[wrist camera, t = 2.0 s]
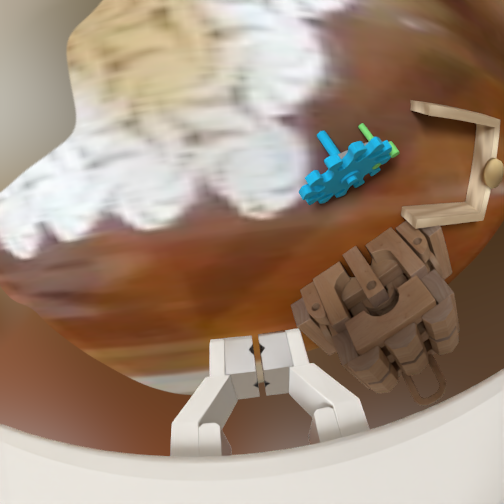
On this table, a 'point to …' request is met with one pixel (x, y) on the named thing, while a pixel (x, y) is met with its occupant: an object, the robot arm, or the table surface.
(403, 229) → the wooden puzzle
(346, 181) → the gear
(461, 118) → the drawer
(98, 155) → the table surface
